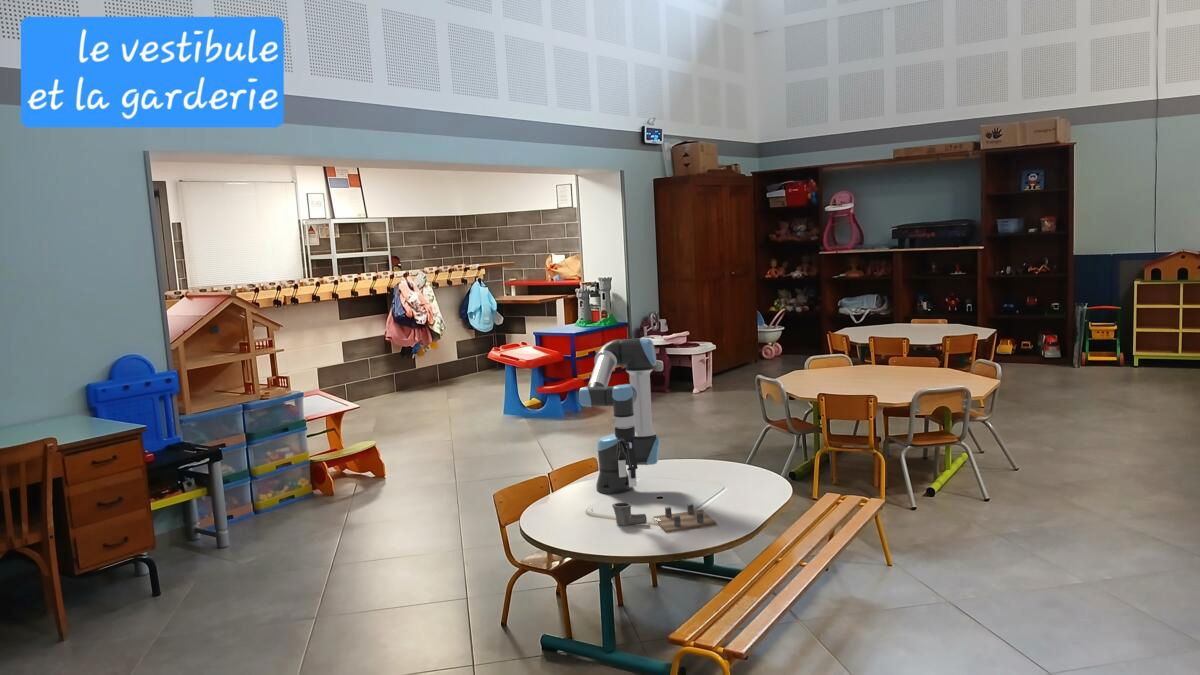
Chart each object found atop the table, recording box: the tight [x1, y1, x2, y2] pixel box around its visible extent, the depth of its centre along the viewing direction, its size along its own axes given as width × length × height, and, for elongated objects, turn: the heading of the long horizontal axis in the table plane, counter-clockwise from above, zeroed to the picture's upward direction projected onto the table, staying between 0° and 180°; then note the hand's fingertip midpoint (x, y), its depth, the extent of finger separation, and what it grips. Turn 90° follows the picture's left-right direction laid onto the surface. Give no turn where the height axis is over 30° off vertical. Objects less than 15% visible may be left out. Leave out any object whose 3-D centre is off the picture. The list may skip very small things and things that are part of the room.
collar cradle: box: [652, 503, 718, 533], centre depth 325 cm, size 16×20×4 cm
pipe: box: [612, 501, 647, 527], centre depth 326 cm, size 6×13×8 cm, turn 78°
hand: (627, 481), depth 324 cm, fingers open, 13 cm apart
